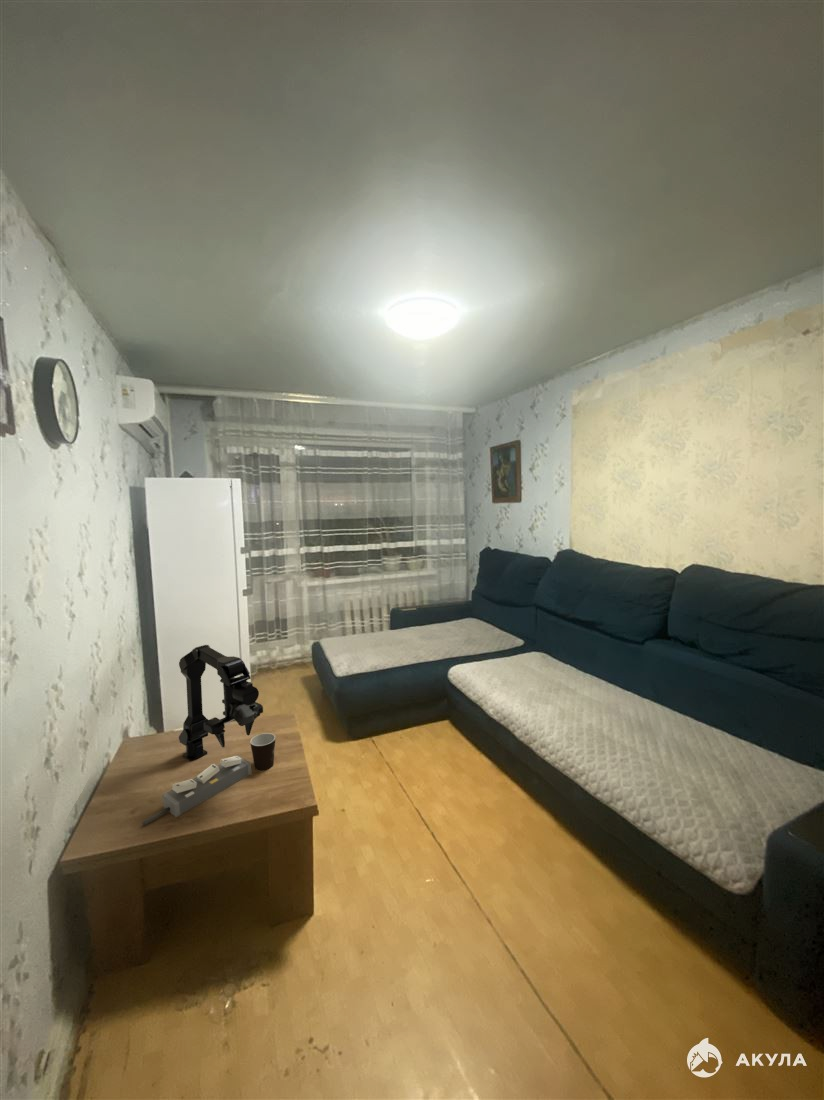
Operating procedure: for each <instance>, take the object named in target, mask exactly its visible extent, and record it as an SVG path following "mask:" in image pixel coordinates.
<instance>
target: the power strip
mask: <svg viewBox="0 0 824 1100" xmlns="http://www.w3.org/2000/svg"><path fill="white" fill-rule="evenodd" d="M236 756H238V757H240V758H241V759H242V760H241V764H237V765H233V766H229V767H224V766H222V765H220V764H218V765H217V766H218V767H219V769H220V771H218V772H217V773H216V774H215V775H214V776H212V777H211V778H210V779H209V780H207V781H206V782H205V783H204V784H203V783H201V782H200V781H198V779H197V776H196V777H194V778H191V779H192V780H194V781H195V782H197V785H196V788H194V789H190V790H187V791H183V792H179V793H176V792H175V791H174V790H172V789H171V790H169V791H167V792H164V793H162V795H161V799H162V800H161V801H162V807H163V808H164V809H162V810H160V811H158V812H157V813H155V814H153V815H151V816H150V817H148V818H146V819H144V820H142V822H141V825H142V826H145V825H147V824H149V823H151V822H153V821H154V820H156V819H158V818H160V817H161V816H163V815H165V814H167V813H170V814H171V815H173V816H174V817H175V818H177V817H179V816H181V815H183V814H184V813H186V812H187V811H189V810H191V809H193V808H195V807H196V806H197V805H200V804H201V803H203V802H204V801H207V800H208V799H210V798H212V797H214V796H215V795H217V794H218V793H221V792H222V791H224V790H226V789H228V788H229V787H231V786H233V785H234V784H236V783H238V782H239V781H241V780H243V779H245V778H246V777H249V776H250V775H252V763H251V762H250V761H248V760H247V759H244V758H242V757H241V756H239V755H238V754H236Z"/></svg>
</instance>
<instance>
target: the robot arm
mask: <svg viewBox="0 0 824 1100" xmlns="http://www.w3.org/2000/svg"><path fill="white" fill-rule="evenodd" d="M207 665H209V666H210V667H212V668H213V669H215V670H216V672H217V675H218V676H219V678H221V679H219V682H220V683H221V684H222V685H223V686H222V687H223V699H222V700H221V703H222V704H223V706H224V711H222V716H224V717H223V718H220V719H219V718H218V717H212V718H210V719H208V718H207V717H206V716H205V715H204V713H203V691H202V676H203V675H204V673H205V671H206V667H207ZM178 666H179V669H180V673H181V674H182V675H183V676H184V677H185V681H186V699H187V703H186V705H187V716H186V718H185V720H184V722H183V728H182V731H181V732H180V734H179V735H178V741H179V743H180V744H181V745H184V746H185V751H186V752H185V753H182V757H183V758H185V759H187V760H188V761H190V762H192V761H195V760H196V759H199V758H201V757H202V756H204V755H207V754H208V751H207V750H205V749H204V741H203V739H204V738H206V737H208V736H209V734H211V735H214V736H215V738H216V739H217V741H218V743H219V744H220V747H222V748H223V749H224V748H225V747H226V746H225V744H226V739H225V732H226V730H225V726H226V724H228V723H230V722H232V721H236V722H237V723H238V726H240V727H245V728H244V729H245V732H246V736H250V735H251V731H252V728H253V725H254V723H255V720H256V719H257V718H258V717H260V716H261V714H263V713H264V707H263V705H262V704H261V703H258V702H257V700H258V699H259V696H260V695H259V694H260V693H259V692H260V691H259V689H258V688H257V687H256V686H254V684H253V682H251V681H248V680H251V679H252V678H251V675H250V671H249V669H248V668H247V666H246V664H245V662H244V661H243V659H242V658H241V657H238V656H234V655H233V656H227V655H224V654H222V653H221V652H219V651H217V650H215V649H214V648H211V646H210V645H209V644H203V645H199V646H196V647H194V648H193V649H192V650H191V651H190V652H188V653H186V654H185V655H183V656H182V657H180V659H179V661H178Z"/></svg>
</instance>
